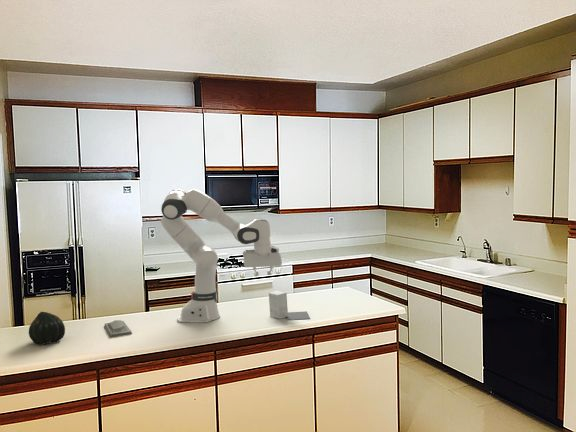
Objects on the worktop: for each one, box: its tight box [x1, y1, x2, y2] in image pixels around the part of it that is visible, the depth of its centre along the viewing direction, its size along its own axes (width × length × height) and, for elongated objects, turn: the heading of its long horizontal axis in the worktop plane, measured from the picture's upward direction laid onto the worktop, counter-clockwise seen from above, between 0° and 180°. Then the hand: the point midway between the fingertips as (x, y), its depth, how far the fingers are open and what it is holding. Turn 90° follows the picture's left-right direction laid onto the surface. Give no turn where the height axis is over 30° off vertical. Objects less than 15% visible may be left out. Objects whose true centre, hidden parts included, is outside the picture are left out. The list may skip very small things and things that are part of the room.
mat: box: [286, 311, 311, 321], centre depth 251 cm, size 12×13×1 cm
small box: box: [268, 290, 289, 320], centre depth 249 cm, size 8×6×13 cm
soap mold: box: [104, 319, 133, 338], centre depth 233 cm, size 10×20×4 cm, turn 29°
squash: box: [28, 311, 66, 346], centre depth 218 cm, size 14×15×15 cm
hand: (263, 274), depth 247 cm, fingers open, 5 cm apart
